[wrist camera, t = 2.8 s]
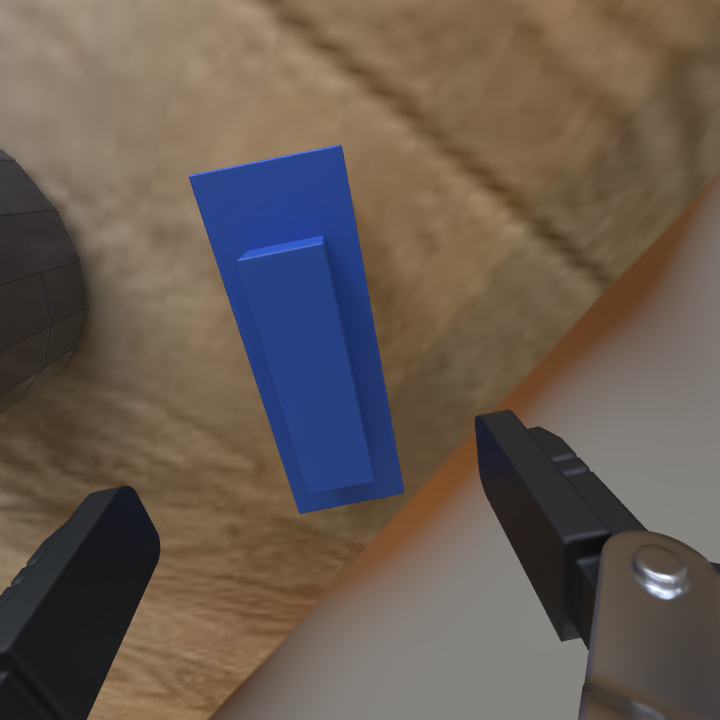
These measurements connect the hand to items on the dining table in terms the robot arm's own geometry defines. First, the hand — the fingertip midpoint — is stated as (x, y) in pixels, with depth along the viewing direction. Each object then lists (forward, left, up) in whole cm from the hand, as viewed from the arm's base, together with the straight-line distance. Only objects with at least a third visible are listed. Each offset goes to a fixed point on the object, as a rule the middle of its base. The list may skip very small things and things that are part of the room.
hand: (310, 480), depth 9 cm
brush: (0, 0, -11) cm, 11 cm away
